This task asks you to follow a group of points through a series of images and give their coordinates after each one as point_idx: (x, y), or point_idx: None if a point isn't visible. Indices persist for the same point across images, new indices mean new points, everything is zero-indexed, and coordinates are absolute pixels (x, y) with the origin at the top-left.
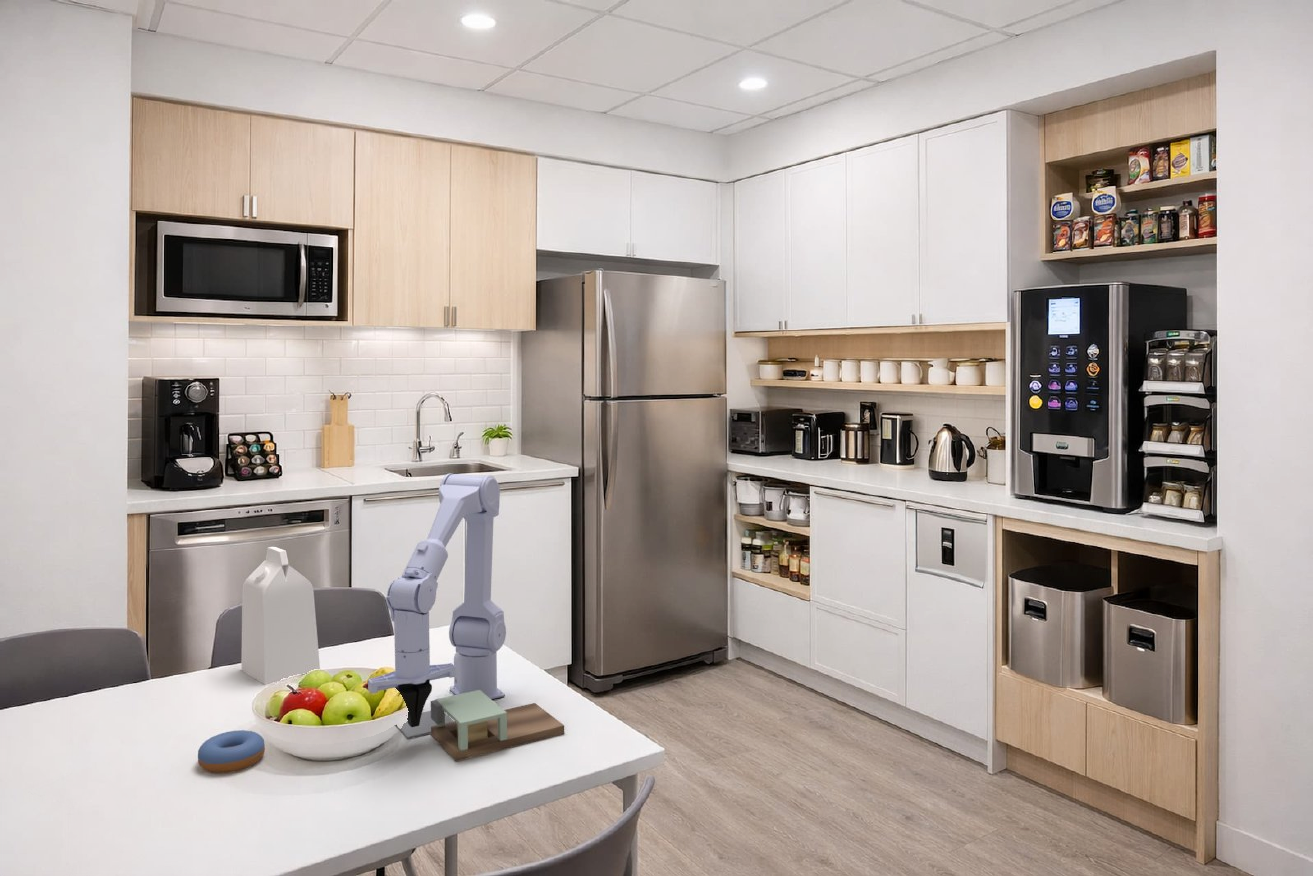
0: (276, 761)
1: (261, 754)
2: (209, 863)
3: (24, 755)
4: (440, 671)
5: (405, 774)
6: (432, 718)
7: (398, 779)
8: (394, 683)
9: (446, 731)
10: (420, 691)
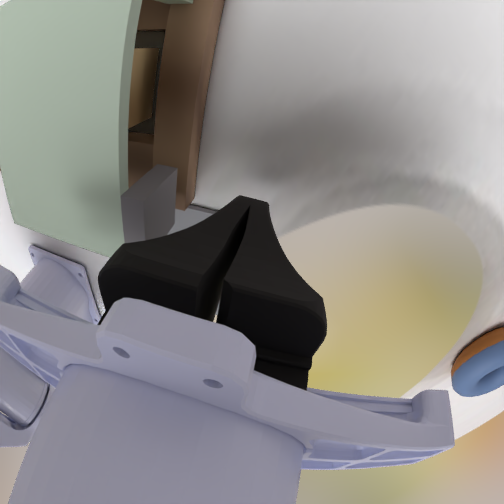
0: (478, 320)
1: (488, 341)
2: None
3: (492, 416)
4: (9, 325)
5: (401, 34)
6: (173, 212)
7: (431, 31)
8: (369, 419)
9: (160, 149)
10: (193, 273)
